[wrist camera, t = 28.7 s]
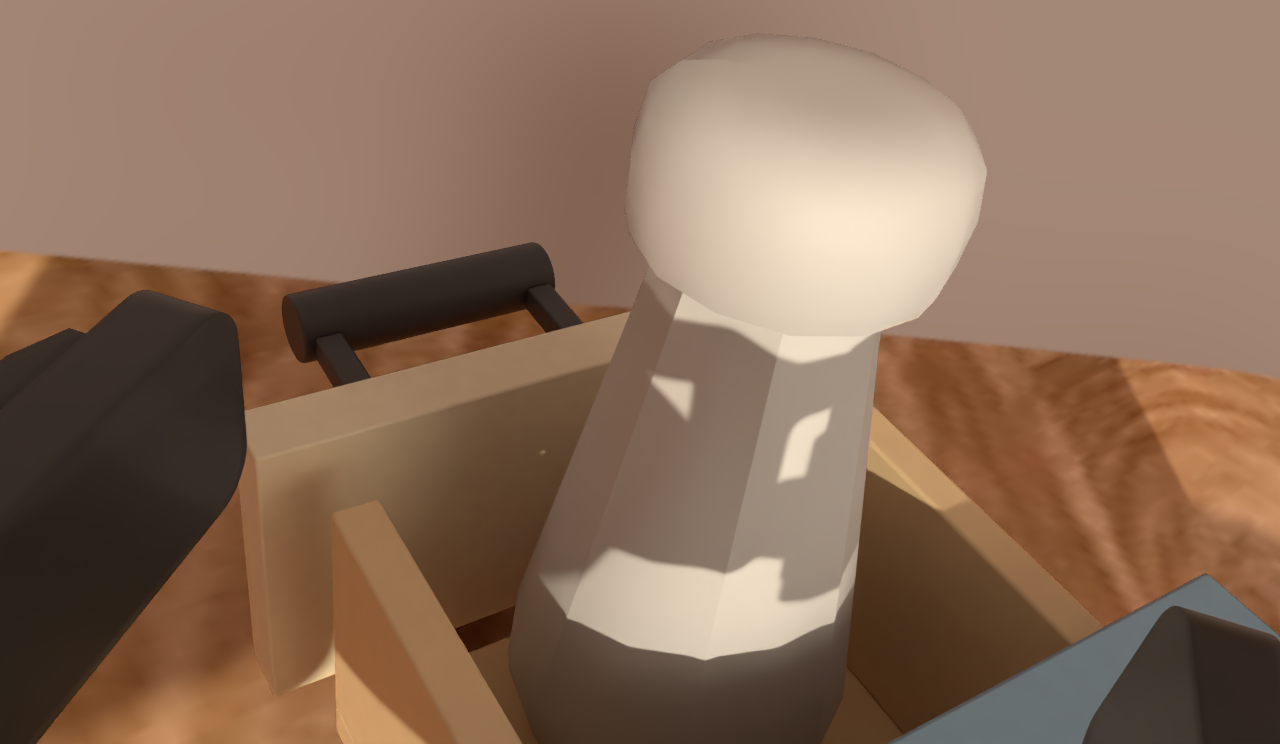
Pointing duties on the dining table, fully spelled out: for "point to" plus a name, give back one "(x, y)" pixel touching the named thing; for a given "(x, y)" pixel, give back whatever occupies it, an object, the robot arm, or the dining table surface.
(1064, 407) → the dining table surface
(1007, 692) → the cabinet
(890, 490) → the drawer
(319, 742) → the dining table surface
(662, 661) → the salt shaker
